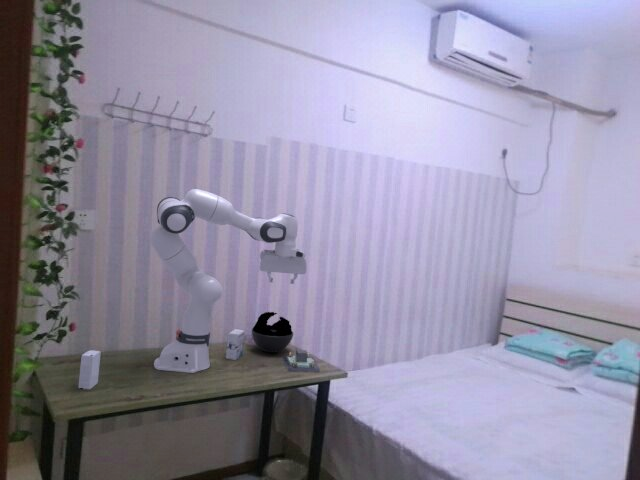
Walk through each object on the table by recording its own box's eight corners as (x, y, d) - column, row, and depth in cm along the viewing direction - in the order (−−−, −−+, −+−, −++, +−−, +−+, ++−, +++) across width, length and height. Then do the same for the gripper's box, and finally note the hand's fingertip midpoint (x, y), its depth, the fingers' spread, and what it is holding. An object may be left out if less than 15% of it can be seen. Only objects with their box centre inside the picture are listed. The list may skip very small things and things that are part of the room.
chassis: (287, 371, 211) (289, 360, 210) (282, 359, 225) (283, 349, 225) (319, 372, 214) (320, 361, 214) (312, 360, 228) (313, 351, 228)
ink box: (232, 353, 226) (235, 328, 225) (242, 355, 225) (245, 330, 224) (225, 358, 218) (227, 332, 217) (235, 360, 217) (238, 334, 216)
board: (291, 367, 212) (292, 355, 212) (286, 357, 224) (287, 346, 224) (315, 367, 214) (317, 356, 214) (309, 358, 227) (310, 347, 227)
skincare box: (86, 382, 175) (88, 349, 174) (98, 383, 175) (101, 350, 174) (77, 388, 169) (80, 354, 168) (90, 390, 169) (93, 356, 168)
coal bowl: (248, 344, 243) (252, 306, 242) (288, 346, 247) (292, 309, 246) (250, 357, 224) (254, 316, 223) (293, 359, 228) (298, 319, 226)
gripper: (261, 250, 206) (258, 282, 207) (309, 254, 210) (305, 285, 211) (260, 248, 212) (256, 279, 213) (306, 252, 216) (302, 283, 217)
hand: (281, 282), depth 212 cm, fingers open, 8 cm apart
